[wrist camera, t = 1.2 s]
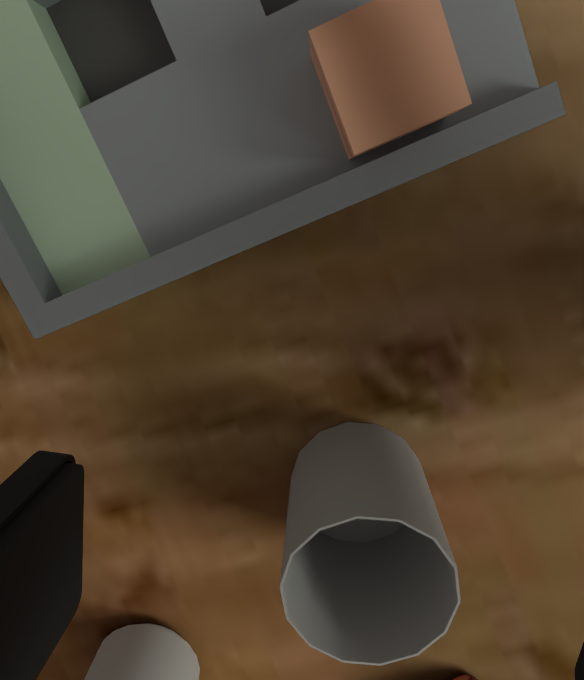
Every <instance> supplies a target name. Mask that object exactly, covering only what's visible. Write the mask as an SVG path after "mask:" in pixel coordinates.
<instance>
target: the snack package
mask: <svg viewBox="0 0 584 680" xmlns="http://www.w3.org/2000/svg"><path fill="white" fill-rule="evenodd" d="M453 680H478V679H476V678H475V677H473V676H471V675H461V676H458V677H456V678H454V679H453Z"/></svg>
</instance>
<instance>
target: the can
mask: <svg viewBox="0 0 584 680" xmlns="http://www.w3.org/2000/svg"><path fill="white" fill-rule="evenodd" d="M199 672H200V667H199V663H198V659H197V656H196V654H195V653H194V651H193V650H192V648H191V647H190V645H189V644H188V643H187V642H186V641H185V640H183V638H181V637H180V636H179V635H178V634H177V633H175V632H174V631H173V630H170V629H168V628H166V627H164V626H161V625H156V624H150V623H147V624H136V625H127V626H125V627H122V628H120V629H117V630H115V631H113V632H112V633H111V634H110V635H108V636H107V637H106V638H105V639H104V640H103V642H102V644H101V646H100V647H99V649H98V651H97V653H96V656H95V658H94V660H93V662H92V664H91V666H90V668H89V670H88V672H87V674H86V676H85V678H84V680H198V679H199Z"/></svg>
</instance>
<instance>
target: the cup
mask: <svg viewBox="0 0 584 680" xmlns="http://www.w3.org/2000/svg"><path fill="white" fill-rule="evenodd" d="M280 591H281V596H282V600H283V605H284V610H285V615H286V619H287V620H288V622H289V623H290V624H291V625H292V626H293V628H294V629H295V630H296V631H297V632H298V634H299V635H300V636H301V637H302V638H303V640H304V641H305V642H306V643H307V644H308V645H309V646H310V647H312V648H314V649H316V650H318V651H320V652H322V653H324V654H326V655H328V656H330V657H332V658H335V659H337V660H339V661H341V662H344V663H355V664H367V665H378V666H382V665H385V664H389V663H393V662H396V661H400V660H403V659H407V658H411V657H414V656H418V655H419V654H420V653H422V652H423V651H424V650H425V649H427V648H428V647H429V646H430V645H432V644H433V643H434V642H435V641H437V640H438V639H439V638H441V637H442V636H443V635H444V634H446V633H447V630H448V628H449V626H450V624H451V622H452V620H453V617H454V615H455V613H456V611H457V609H458V607H459V604H460V602H461V600H460V591H459V581H458V572H457V566H456V563H455V560H454V558H453V555H452V552H451V549H450V546H449V543H448V540H447V538H446V535H445V532H444V529H443V526H442V523H441V520H440V518H439V515H438V512H437V509H436V506H435V503H434V500H433V498H432V495H431V492H430V489H429V486H428V483H427V480H426V478H425V475H424V472H423V469H422V466H421V463H420V461H419V459H418V458H417V456H416V455H415V454H414V452H413V451H412V449H411V448H410V447H409V445H408V444H407V442H406V441H405V439H404V438H402V437H400V436H399V435H397V434H395V433H393V432H391V431H389V430H387V429H386V428H384V427H382V426H380V425H378V424H367V423H354V422H346V423H343V424H340V425H338V426H335V427H332V428H329V429H326V430H324V431H321V432H319V433H318V434H317V435H316V436H315V437H314V438H313V439H312V440H311V441H310V442H309V443H308V444H307V445H306V446H305V447H304V448H303V449H302V450H301V451H299V454H298V457H297V460H296V463H295V466H294V470H293V473H292V476H291V483H290V492H289V502H288V512H287V521H286V531H285V540H284V550H283V559H282V569H281V578H280Z"/></svg>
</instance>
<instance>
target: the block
mask: <svg viewBox="0 0 584 680" xmlns="http://www.w3.org/2000/svg"><path fill="white" fill-rule="evenodd" d="M308 32H309V44H310V55H311V61H312V63H313V66H314V69H315V71H316V74H317V77H318V79H319V82H320V85H321V87H322V90H323V93H324V95H325V98H326V101H327V103H328V106H329V109H330V111H331V114H332V117H333V119H334V122H335V125H336V127H337V130H338V133H339V135H340V138H341V141H342V143H343V146H344V149H345V151H346V154H347V157H348V159H349V160H350V159H352V158H354V157H357V156H359V155H361V154H363V153H366V152H368V151H370V150H373V149H375V148H377V147H379V146H382V145H384V144H386V143H388V142H391V141H393V140H395V139H398V138H400V137H402V136H404V135H407V134H409V133H411V132H414V131H416V130H418V129H420V128H423V127H425V126H427V125H430V124H432V123H434V122H436V121H439V120H441V119H443V118H446V117H447V116H449V115H451V114H453V113H455V112H457V111H459V110H461V109H463V108H465V107H467V106H469V105H470V104H472V102H471V98H470V95H469V92H468V89H467V86H466V82H465V79H464V76H463V73H462V70H461V66H460V63H459V60H458V57H457V54H456V50H455V47H454V44H453V41H452V38H451V34H450V31H449V28H448V25H447V22H446V18H445V15H444V12H443V9H442V6H441V2H440V0H372V1H370V2H368V3H366V4H364V5H362V6H359V7H357V8H355V9H353V10H351V11H349V12H347V13H345V14H343V15H341V16H339V17H337V18H335V19H332V20H330V21H328V22H326V23H324V24H322V25H320V26H318V27H316V28H314V29H312V30H310V31H308Z"/></svg>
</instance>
